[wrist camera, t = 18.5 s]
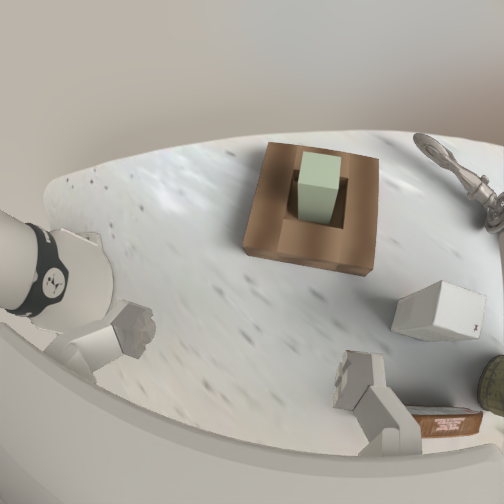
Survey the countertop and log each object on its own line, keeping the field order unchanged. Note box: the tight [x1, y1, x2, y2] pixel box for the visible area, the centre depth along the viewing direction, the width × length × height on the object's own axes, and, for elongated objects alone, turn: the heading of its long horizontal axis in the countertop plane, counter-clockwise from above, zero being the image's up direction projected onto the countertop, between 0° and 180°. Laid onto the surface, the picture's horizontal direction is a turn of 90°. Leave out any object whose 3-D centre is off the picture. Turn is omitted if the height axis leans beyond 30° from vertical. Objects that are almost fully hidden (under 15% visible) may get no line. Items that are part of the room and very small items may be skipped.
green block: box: [298, 151, 341, 225], centre depth 31 cm, size 4×4×9 cm
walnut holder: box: [242, 142, 379, 276], centre depth 34 cm, size 15×15×4 cm
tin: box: [404, 405, 483, 438], centre depth 22 cm, size 15×3×8 cm, turn 76°
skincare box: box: [391, 280, 486, 342], centre depth 24 cm, size 6×4×12 cm
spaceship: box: [413, 133, 504, 233], centre depth 27 cm, size 8×35×8 cm
